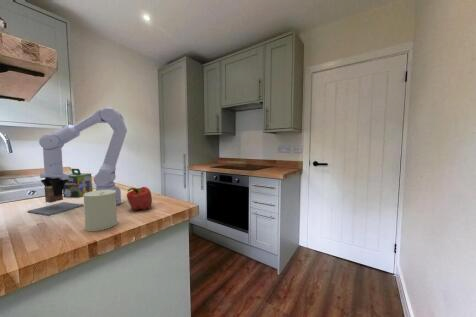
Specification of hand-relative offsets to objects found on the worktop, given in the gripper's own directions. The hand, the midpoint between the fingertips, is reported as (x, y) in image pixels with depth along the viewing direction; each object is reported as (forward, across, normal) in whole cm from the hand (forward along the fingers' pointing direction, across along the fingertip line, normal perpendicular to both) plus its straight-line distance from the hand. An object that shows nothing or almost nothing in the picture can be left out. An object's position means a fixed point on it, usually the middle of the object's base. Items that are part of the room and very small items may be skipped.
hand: (55, 195), depth 84 cm
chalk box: (+6, -15, +19) cm, 25 cm away
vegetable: (+6, +34, +11) cm, 36 cm away
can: (+6, +35, -7) cm, 36 cm away
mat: (+6, 0, 0) cm, 6 cm away
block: (+2, 0, 0) cm, 2 cm away
